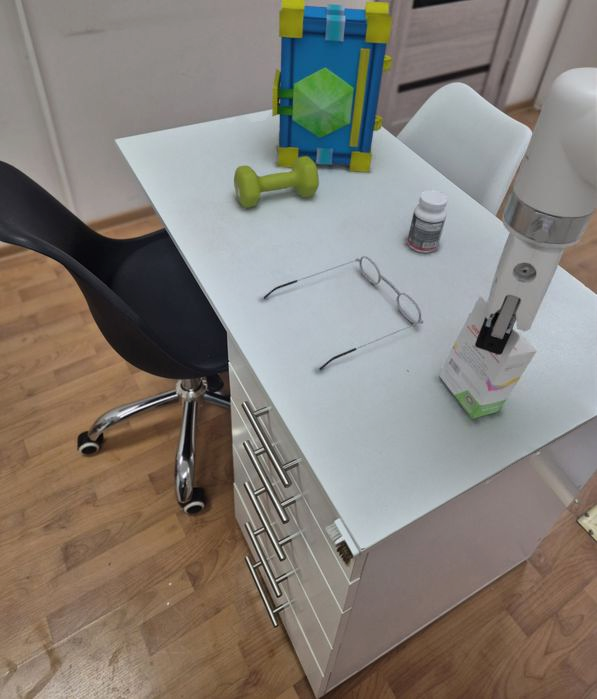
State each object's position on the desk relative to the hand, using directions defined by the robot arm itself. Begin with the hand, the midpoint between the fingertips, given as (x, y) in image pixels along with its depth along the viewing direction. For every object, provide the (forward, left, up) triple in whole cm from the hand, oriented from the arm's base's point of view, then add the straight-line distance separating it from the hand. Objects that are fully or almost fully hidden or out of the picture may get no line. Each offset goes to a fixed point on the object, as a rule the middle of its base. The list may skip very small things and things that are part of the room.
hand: (488, 346), depth 65 cm
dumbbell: (+47, -36, -13) cm, 61 cm away
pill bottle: (+16, -35, -13) cm, 41 cm away
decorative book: (+45, -56, -13) cm, 73 cm away
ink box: (0, -3, -13) cm, 13 cm away
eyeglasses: (+22, -10, -13) cm, 27 cm away
